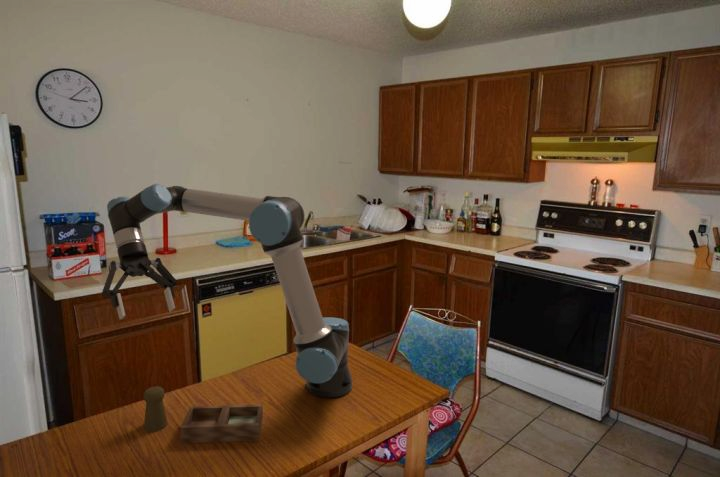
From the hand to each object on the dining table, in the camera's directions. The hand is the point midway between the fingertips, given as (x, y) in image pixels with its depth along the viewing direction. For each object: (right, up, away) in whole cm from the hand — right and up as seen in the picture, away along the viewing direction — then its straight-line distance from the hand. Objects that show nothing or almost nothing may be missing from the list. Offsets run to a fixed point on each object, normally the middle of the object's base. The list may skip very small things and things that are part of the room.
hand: (148, 313), depth 126 cm
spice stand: (+22, -32, -2) cm, 39 cm away
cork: (+2, -31, -1) cm, 31 cm away
